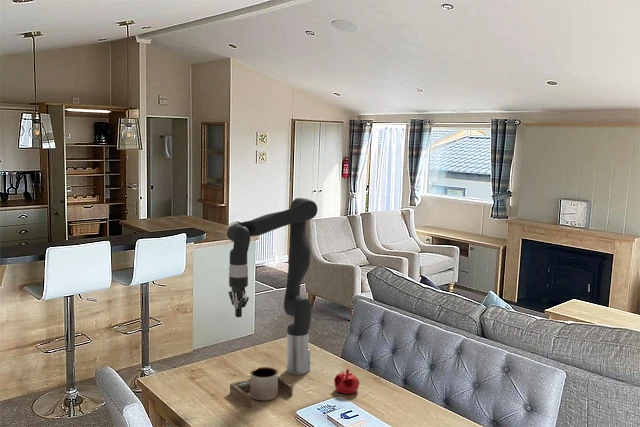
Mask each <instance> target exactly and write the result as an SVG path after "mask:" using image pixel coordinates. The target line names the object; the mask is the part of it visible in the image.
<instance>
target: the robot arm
mask: <svg viewBox="0 0 640 427" xmlns="http://www.w3.org/2000/svg"><path fill="white" fill-rule="evenodd" d="M317 214H318V205H317V204H316V202H315V201H314V200H312V199H310V198H303V197H296V198H294V199H293V200H292V202H291V203H290V206H289V209H285V210H282V211H276V212H272V213H267V214H264V215H261V216H258V217H256V218H253V219H251V220H246V221H241V222H238V223H235V224H232V225H231V226H229V227H228V229H227V232H226V236H227V238H228V240H230V241H231V242H233V246H232V247H233V248H232V249H231V250H230V251H229V267H228V287H230V288H231V290H230V291H228V296H229V299H230V302H231V305H232V306H233V307H234V308H235V309H234V311H235V313H234V316H235V318H242V316H243V310H242V309H243V308H245V307H246V306H247V303H248V301H249V298H250V297H249V296H247V295H246V287H248V285H249V267H248V252H249V247H250V243H251V237H258V236H261V235H264V234H267V233H269V232H272V231H275V230H277V229H279V228H282V227H285V226H289V225H290V226H289V227H290V229H289V230H290V233H289V234H290V235H289V249H288V266H287V267H288V269H287V280H286V287H285V295H284V302H283V309H284V310H283V311H284V313H285V314H287V315H288V316H290V317H293V323H291V324H289V325H288V326H287V328H286V329H287V331H286V332H287V333H286V334H287V335H286V345H287V346H286V372H287V373H288V374H289V375H290V374H291V375H295V376H298V375H299V376H300V375H305V374H307V373H308V372H310V371H311V349H310V348H309V335H310V334H309V329H310V328H311V321H312V303H311V301H310V299H309V298H307V297H304V296H301V294H300V293H301V284H302V281H303V279H304V277H305V276H306V274H307V272H308V271H309V269H310V266H311V247H310V244H309V239H308V237H307V231H306V230H307V229H306V225H307V221H310V220H313V219H314V218H315V217H316V215H317Z"/></svg>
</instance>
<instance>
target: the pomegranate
mask: <svg viewBox="0 0 640 427" xmlns="http://www.w3.org/2000/svg"><path fill="white" fill-rule="evenodd" d="M333 382H334V387H335V390H336V391H337V393H340V394H342V395H343V394H344V395H352V394H355V392H356V391H358V390H359V386H360V380H359V379H358V377H357V376H356V375H355V374H353V371H351V372H350V368H346V369H345V372H344V371H342V370H341V371H340V372H339V373H337V374H336V375H335V377H334V380H333Z"/></svg>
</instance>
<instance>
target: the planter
mask: <svg viewBox="0 0 640 427" xmlns="http://www.w3.org/2000/svg"><path fill="white" fill-rule="evenodd" d="M249 376H250V378H249V379H250V390H249V396H251V397H252V400H255V401H258V402H259V401H260V402H267V401H272V400H274V399H276V398H277V396H278V395H279V389H278V377H279V371H278V369H276V368H273V367H268V366H266V367H265V366H264V367H263V366H262V367H255V368H253V369H252V370H250V375H249Z"/></svg>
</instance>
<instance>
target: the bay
mask: <svg viewBox="0 0 640 427" xmlns="http://www.w3.org/2000/svg"><path fill="white" fill-rule="evenodd" d="M229 384H230V385H229V394H230V395H231V396H232V397H234V398H235V399H237V401H239V402H240V403H242V404H243V405H244V406H246V407H247V408H248V409H252V408H253V406H252V403H253V402H252V401H253V398H252V397H251V396H250V394H248V393H246V391H250V378H248V379H245V380H240V381H235V382H233V383H229ZM278 390H279V391H281V392H283V393H284V394H286V395H287V396H289V397H293V392H294V389H293V385H292V384H291V383H289V382H288V381H286V380H284V379H283V378H281V377H279V376H278Z"/></svg>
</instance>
